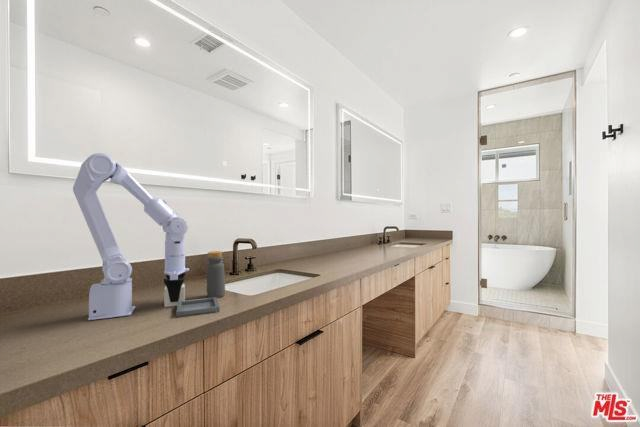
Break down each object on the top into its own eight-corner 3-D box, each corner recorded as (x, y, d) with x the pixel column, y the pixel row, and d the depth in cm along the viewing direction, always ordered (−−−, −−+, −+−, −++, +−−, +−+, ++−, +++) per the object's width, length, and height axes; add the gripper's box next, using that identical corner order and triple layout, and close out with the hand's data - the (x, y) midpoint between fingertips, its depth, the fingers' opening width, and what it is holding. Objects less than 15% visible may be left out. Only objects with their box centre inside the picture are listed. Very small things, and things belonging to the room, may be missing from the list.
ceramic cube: (164, 307, 87) (164, 289, 87) (165, 302, 92) (165, 285, 92) (184, 305, 89) (184, 287, 89) (184, 300, 94) (184, 283, 94)
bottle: (208, 299, 95) (207, 253, 95) (206, 294, 100) (204, 251, 100) (226, 296, 98) (225, 252, 98) (223, 291, 103) (222, 250, 103)
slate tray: (176, 317, 78) (176, 312, 78) (178, 306, 88) (178, 301, 88) (219, 311, 82) (219, 306, 82) (216, 301, 92) (216, 297, 92)
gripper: (188, 257, 86) (188, 303, 85) (189, 252, 99) (189, 292, 99) (161, 259, 83) (161, 306, 83) (166, 253, 96) (165, 294, 96)
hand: (175, 298), depth 90 cm, fingers open, 6 cm apart
